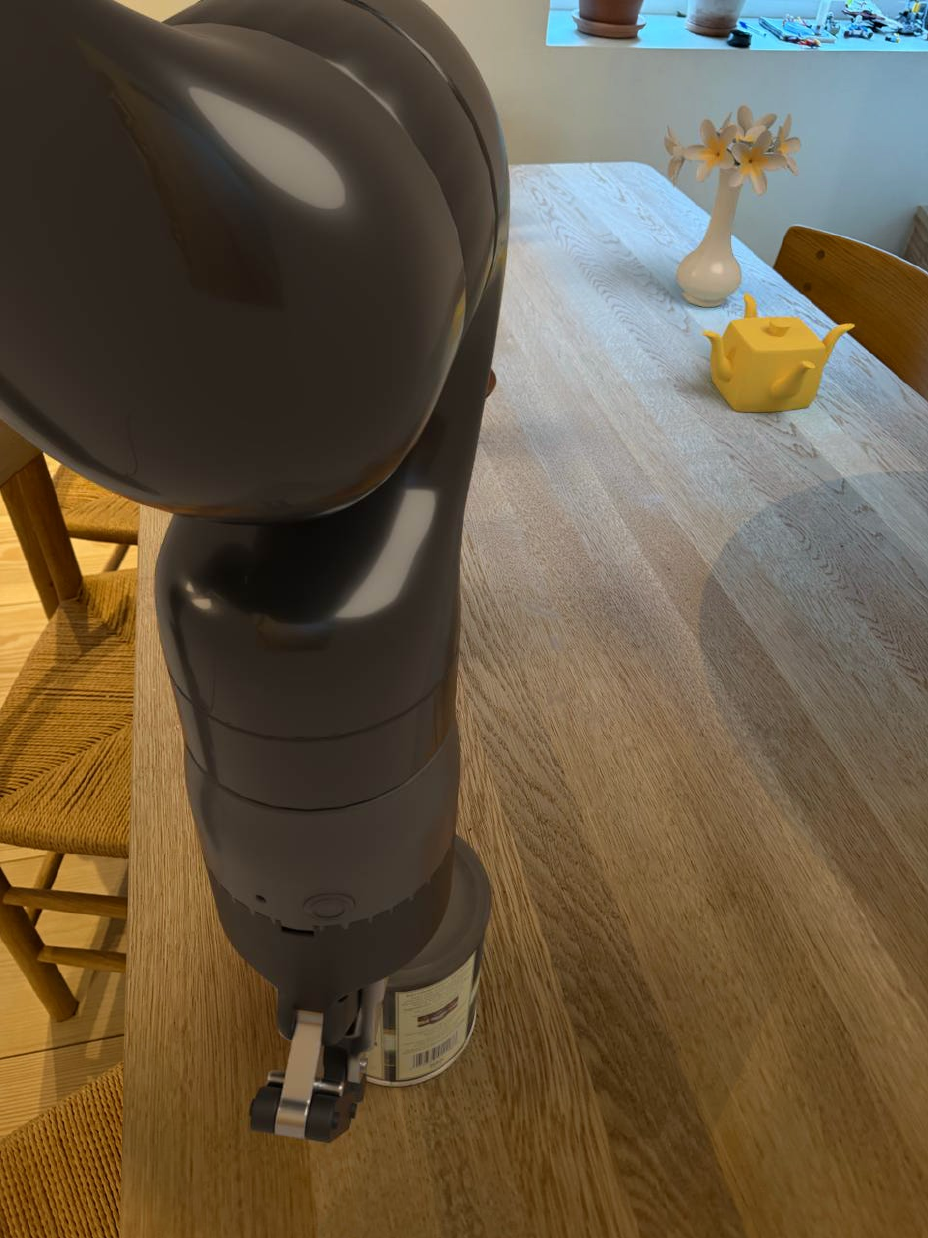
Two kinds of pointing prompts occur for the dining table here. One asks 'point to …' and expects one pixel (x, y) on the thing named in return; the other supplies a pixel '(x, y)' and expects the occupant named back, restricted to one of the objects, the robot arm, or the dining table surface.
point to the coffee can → (436, 986)
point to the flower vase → (727, 194)
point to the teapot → (769, 361)
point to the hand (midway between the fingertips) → (348, 1042)
